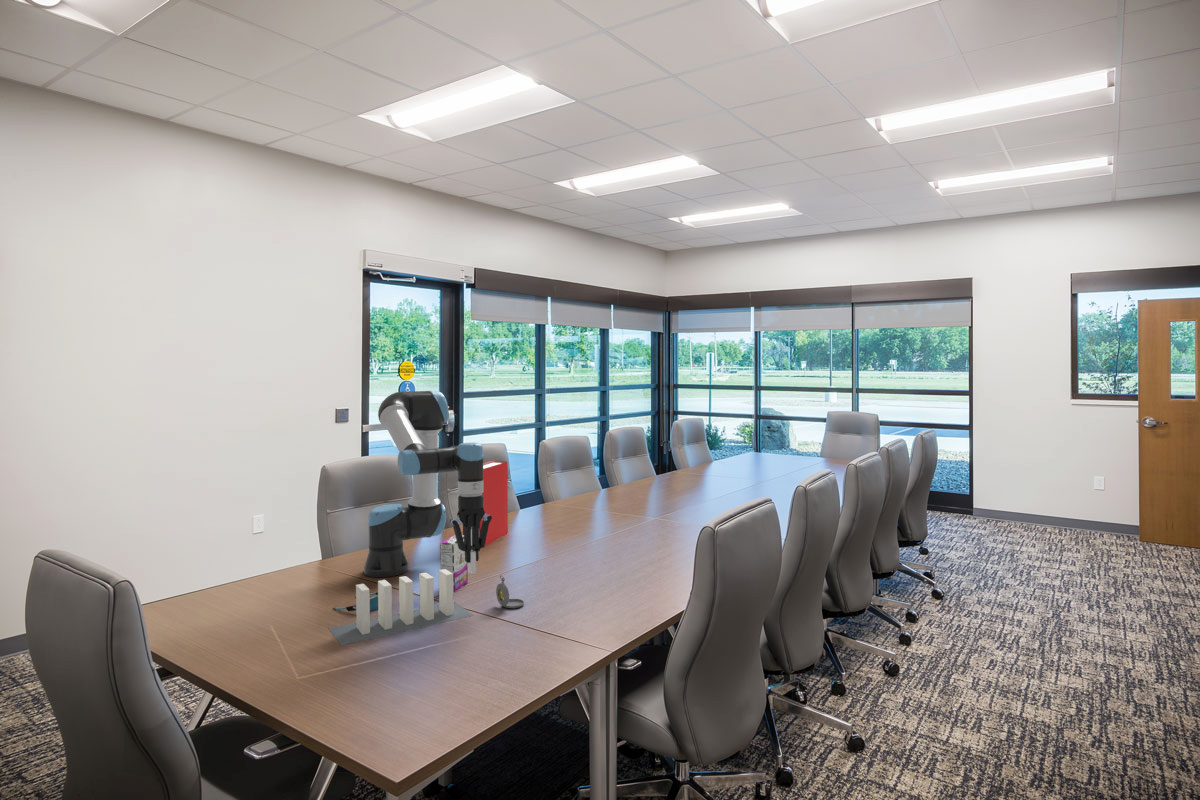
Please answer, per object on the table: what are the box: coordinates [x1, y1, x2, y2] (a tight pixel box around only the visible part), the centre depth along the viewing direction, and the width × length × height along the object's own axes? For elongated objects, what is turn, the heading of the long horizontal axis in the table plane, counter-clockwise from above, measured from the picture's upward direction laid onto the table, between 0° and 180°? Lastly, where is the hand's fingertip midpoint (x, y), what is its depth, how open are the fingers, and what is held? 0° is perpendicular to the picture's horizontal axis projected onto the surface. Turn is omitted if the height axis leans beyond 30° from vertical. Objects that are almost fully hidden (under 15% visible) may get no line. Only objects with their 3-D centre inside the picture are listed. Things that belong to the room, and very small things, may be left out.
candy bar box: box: [439, 534, 469, 593], centre depth 219 cm, size 11×5×16 cm, turn 168°
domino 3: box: [398, 575, 414, 625], centre depth 188 cm, size 6×2×12 cm, turn 35°
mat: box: [328, 601, 474, 646], centre depth 188 cm, size 14×37×1 cm, turn 125°
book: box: [462, 460, 509, 547], centre depth 282 cm, size 27×8×32 cm, turn 163°
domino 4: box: [419, 572, 435, 620], centre depth 192 cm, size 6×2×12 cm, turn 35°
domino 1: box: [355, 583, 371, 635], centre depth 182 cm, size 6×2×12 cm, turn 35°
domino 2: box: [377, 579, 393, 630], centre depth 185 cm, size 6×2×12 cm, turn 35°
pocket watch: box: [495, 575, 525, 609], centre depth 201 cm, size 8×8×10 cm
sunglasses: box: [333, 591, 378, 613], centre depth 202 cm, size 14×15×5 cm
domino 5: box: [438, 569, 455, 616], centre depth 195 cm, size 6×2×12 cm, turn 35°
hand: (471, 572), depth 199 cm, fingers closed
